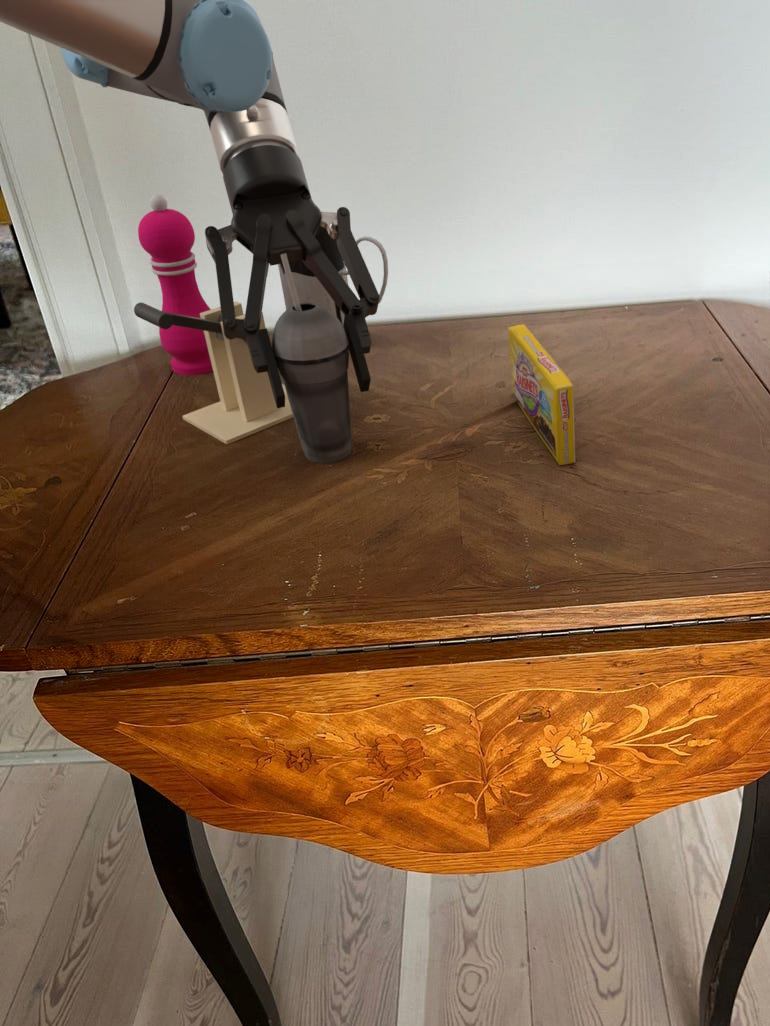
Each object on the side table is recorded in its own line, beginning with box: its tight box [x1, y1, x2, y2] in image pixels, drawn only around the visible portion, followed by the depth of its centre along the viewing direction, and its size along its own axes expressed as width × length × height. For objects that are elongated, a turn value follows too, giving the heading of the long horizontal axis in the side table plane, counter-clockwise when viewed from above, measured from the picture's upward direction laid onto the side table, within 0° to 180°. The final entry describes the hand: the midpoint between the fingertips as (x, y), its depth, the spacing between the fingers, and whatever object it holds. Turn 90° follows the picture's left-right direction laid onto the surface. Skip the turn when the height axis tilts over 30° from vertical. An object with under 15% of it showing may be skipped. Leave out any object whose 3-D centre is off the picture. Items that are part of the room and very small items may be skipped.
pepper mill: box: [137, 194, 213, 376], centre depth 109 cm, size 7×7×20 cm
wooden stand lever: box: [133, 302, 224, 341], centre depth 95 cm, size 11×5×2 cm, turn 134°
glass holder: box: [277, 227, 389, 326], centre depth 113 cm, size 9×14×15 cm, turn 70°
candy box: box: [508, 323, 576, 466], centre depth 96 cm, size 16×2×8 cm, turn 14°
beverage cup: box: [271, 254, 353, 464], centre depth 89 cm, size 7×7×20 cm
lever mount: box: [181, 301, 294, 445], centre depth 100 cm, size 12×9×12 cm
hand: (323, 393), depth 88 cm, fingers closed on beverage cup, 7 cm apart
